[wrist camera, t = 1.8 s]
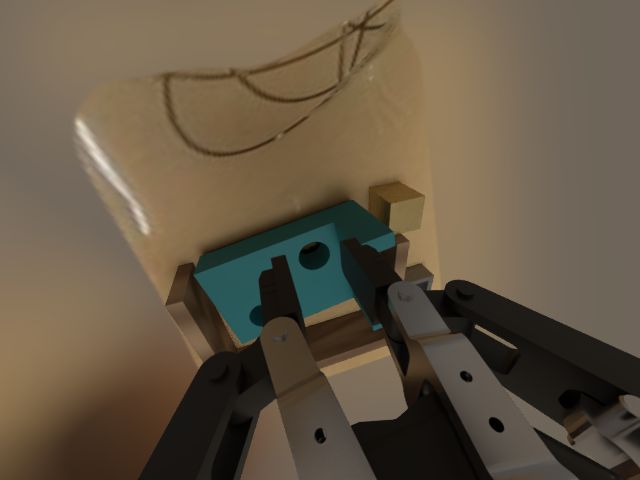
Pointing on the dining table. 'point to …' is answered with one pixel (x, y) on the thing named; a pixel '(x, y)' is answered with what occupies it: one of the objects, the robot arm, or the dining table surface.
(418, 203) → the key block
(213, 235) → the dining table surface
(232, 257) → the teal l-shaped bracket
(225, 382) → the robot arm
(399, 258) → the bracket
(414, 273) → the tray
